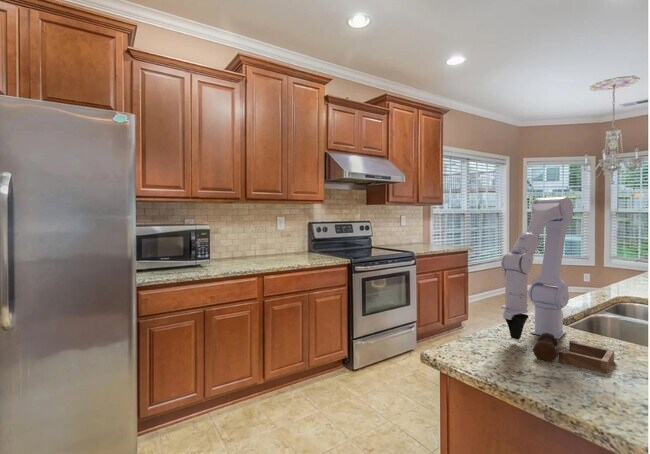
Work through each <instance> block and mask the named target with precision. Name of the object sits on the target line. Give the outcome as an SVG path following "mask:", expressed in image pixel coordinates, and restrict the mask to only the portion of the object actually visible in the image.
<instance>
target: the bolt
mask: <svg viewBox="0 0 650 454" xmlns="http://www.w3.org/2000/svg"><path fill="white" fill-rule="evenodd" d="M557 340H558V339H555V337H554V336H553V335H552V334H549V333H543V334H542V335H539V337H538V338H537V343H536V344H535V345H533V348H532V349H531V350H532V352H533V354H534V356H535V357H536V359H537V360H539V361H543V362H546V363H553V362H554V361H555V360H556V358H557V357H558V354H559V353H558V352H559V350H557V348H556V347H558V344H559V342H558V341H557Z"/></svg>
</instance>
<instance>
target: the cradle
mask: <svg viewBox="0 0 650 454" xmlns="http://www.w3.org/2000/svg"><path fill="white" fill-rule="evenodd" d="M568 346H569V351H568V350H565V349H564V350H563V349H562V350H558V353H559V354H558V356H557V357H558V361H557V362H558V363H561V364H563V365H568V364H569V365H573V366H576V367H580V368H584V369H587V370H592V371H596V372H600V373H603V374H608V372H609V371H610V368H612V365H613V364H614V362H615V350H613V349H608V348H604V347H601V346H594V345H590V344H585V343H580V342H578V341H577V340H570V339H569V345H568Z"/></svg>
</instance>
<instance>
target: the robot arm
mask: <svg viewBox="0 0 650 454" xmlns="http://www.w3.org/2000/svg"><path fill="white" fill-rule="evenodd" d="M531 213H532V216H531V219H530V221H529V224H528V226H527V228H526V231H525V232H523V233H521V234H519V236H518V237H517V239H516V241H515V242H514V245H513V247H512V248H511V250H510V252H507V253H506V254H504V255H503V256H502V259H501V262H500V265H501V268H502V270H503V277H505V293H504V296H505V297H504V298H505V302H504V303H505V304H502V305H501V306H500V308H501V309H504V311H503V312H502V313H503V316H502V317H503V319H504V321H505V323H507V327H508V330H509V333H510V338H511V339H514V340H517V341H519V340H520V339H521V338H522V335H523V331H524V329H523V328H524V326H525V324H526V322H527V320H528V319H529V314H526V313H528V311H529V309H528V305H529V304H528V298H529V300H530V302H532V305H533V306H534V329H531V330H529V331H530V332H529V333H530V334H534V335H537V336H541V335H542V334H543V333H549V334H552V335H553V336H554V337H555V339H556V340H560V338H562V337H563V336H564V335H565V334H566V333H567V330H565V329H563V327H564V326H563V325H564V324H563V323H564V311H563V310H562V309H564V308H566V306H567V305H568V303H569V300H570V296H569V285H568V284H567V283H566V282H565V281H564V280H563V279H562V278H561V277H560V276H561V267H562V261H563V254H564V245H565V242H566V241H565V239H566V234H567V227H568V226H569V225H571V224H572V220H573V215H574V214H573V213H574V205H573V201H572V200H571V198H570V197H568V196H564V197H544V198H543V197H542V198H539V197H537V198H535V199H534V201H533V203H532V205H531ZM545 228H547V230H546V231H547V232H546V237H545V244H544V245H545V246H544V251H543V259H542V265H541V272H540V275H538V276H536V277H535V278H532V282H531V285H530V287H529V288H528V281H529V280H528V276H529V275H528V274H529V273H530V272H531V270H532V269H533V261H534V254H535V252H536V251H537V249H538V247H539V245H540V242H541V241H540V239H539V238H538V237H540V234H541V233H542V232H543V231H544V229H545Z"/></svg>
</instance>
